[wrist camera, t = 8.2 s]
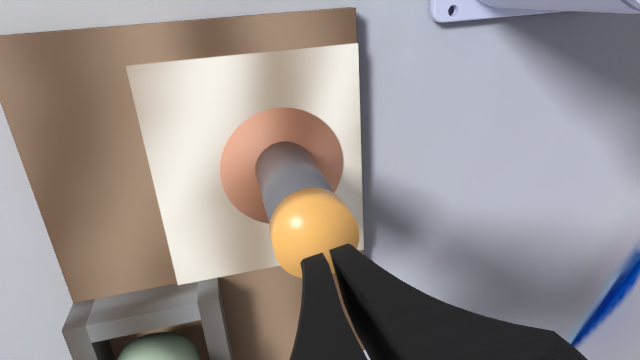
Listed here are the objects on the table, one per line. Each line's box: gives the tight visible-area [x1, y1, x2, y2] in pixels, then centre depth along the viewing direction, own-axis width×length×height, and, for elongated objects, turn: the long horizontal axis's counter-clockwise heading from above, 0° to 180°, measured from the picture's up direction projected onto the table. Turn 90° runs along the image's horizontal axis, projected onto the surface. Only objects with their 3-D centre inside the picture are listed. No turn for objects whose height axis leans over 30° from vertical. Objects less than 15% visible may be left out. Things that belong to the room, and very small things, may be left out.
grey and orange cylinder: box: [255, 141, 359, 278], centre depth 18 cm, size 3×3×7 cm
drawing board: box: [0, 7, 365, 360], centre depth 22 cm, size 15×20×3 cm
